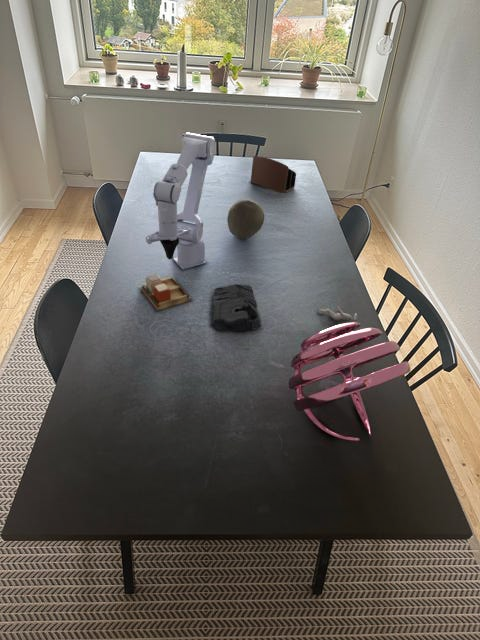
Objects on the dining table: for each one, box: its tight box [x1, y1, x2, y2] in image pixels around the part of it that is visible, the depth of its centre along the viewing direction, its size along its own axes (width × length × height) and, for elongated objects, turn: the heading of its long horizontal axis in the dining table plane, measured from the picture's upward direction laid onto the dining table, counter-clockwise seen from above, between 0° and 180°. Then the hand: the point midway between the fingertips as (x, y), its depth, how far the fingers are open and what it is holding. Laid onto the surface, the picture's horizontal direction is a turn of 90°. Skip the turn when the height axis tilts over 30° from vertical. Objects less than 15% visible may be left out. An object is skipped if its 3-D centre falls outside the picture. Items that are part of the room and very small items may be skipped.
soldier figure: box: [317, 305, 358, 322], centre depth 144 cm, size 8×5×12 cm
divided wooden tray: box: [140, 275, 192, 312], centre depth 148 cm, size 12×13×2 cm
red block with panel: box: [153, 283, 171, 303], centre depth 144 cm, size 4×4×5 cm
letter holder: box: [250, 155, 297, 195], centre depth 219 cm, size 10×20×14 cm, turn 55°
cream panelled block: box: [145, 273, 163, 293], centre depth 148 cm, size 4×4×5 cm
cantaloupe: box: [226, 198, 265, 239], centre depth 178 cm, size 14×14×15 cm
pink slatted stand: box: [288, 321, 411, 442], centre depth 106 cm, size 28×28×27 cm
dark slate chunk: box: [210, 283, 262, 332], centre depth 144 cm, size 15×22×5 cm
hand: (169, 257), depth 148 cm, fingers closed
